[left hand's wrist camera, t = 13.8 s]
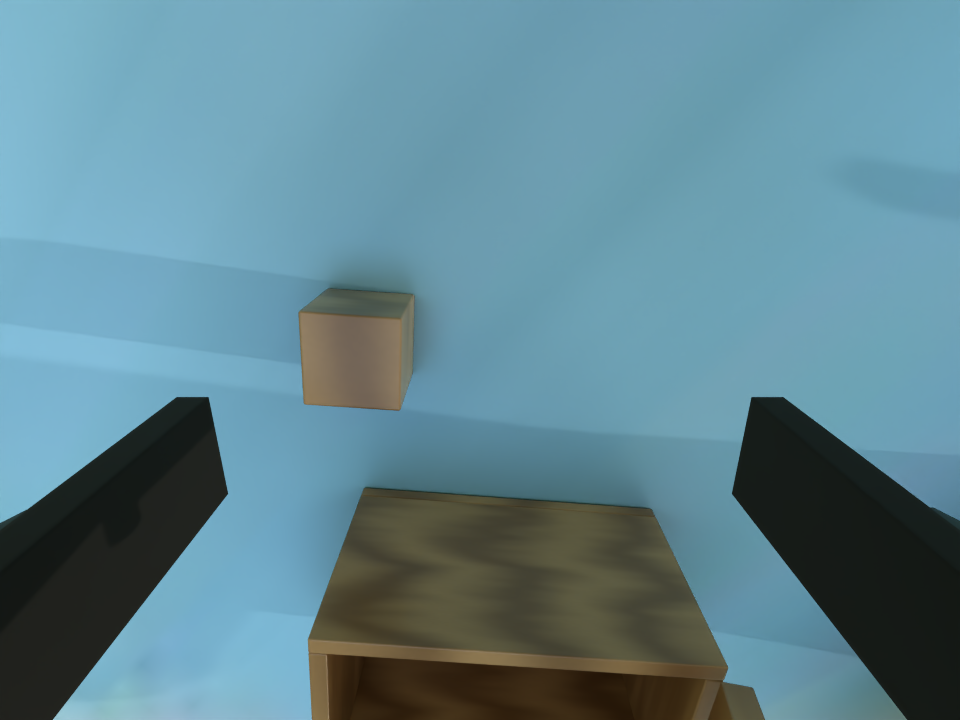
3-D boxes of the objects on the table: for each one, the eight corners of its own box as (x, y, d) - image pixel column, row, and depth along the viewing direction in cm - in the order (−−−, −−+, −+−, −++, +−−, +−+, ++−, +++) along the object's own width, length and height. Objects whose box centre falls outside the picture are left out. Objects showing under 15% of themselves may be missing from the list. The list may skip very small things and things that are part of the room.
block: (330, 369, 26) (303, 405, 22) (327, 287, 24) (297, 311, 21) (412, 374, 26) (400, 411, 22) (414, 293, 25) (401, 318, 21)
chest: (363, 623, 32) (315, 805, 23) (363, 487, 28) (307, 639, 19) (619, 640, 32) (672, 826, 23) (651, 508, 29) (729, 667, 20)
